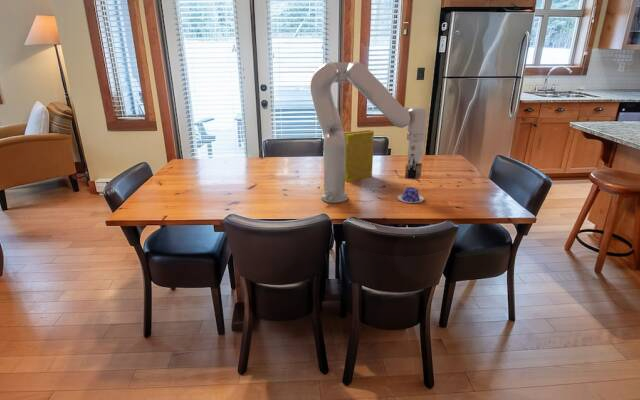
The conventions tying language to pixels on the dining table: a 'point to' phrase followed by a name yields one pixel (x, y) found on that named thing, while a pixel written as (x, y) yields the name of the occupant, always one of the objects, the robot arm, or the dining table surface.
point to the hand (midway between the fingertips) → (413, 175)
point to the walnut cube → (418, 171)
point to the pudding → (410, 195)
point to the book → (358, 155)
